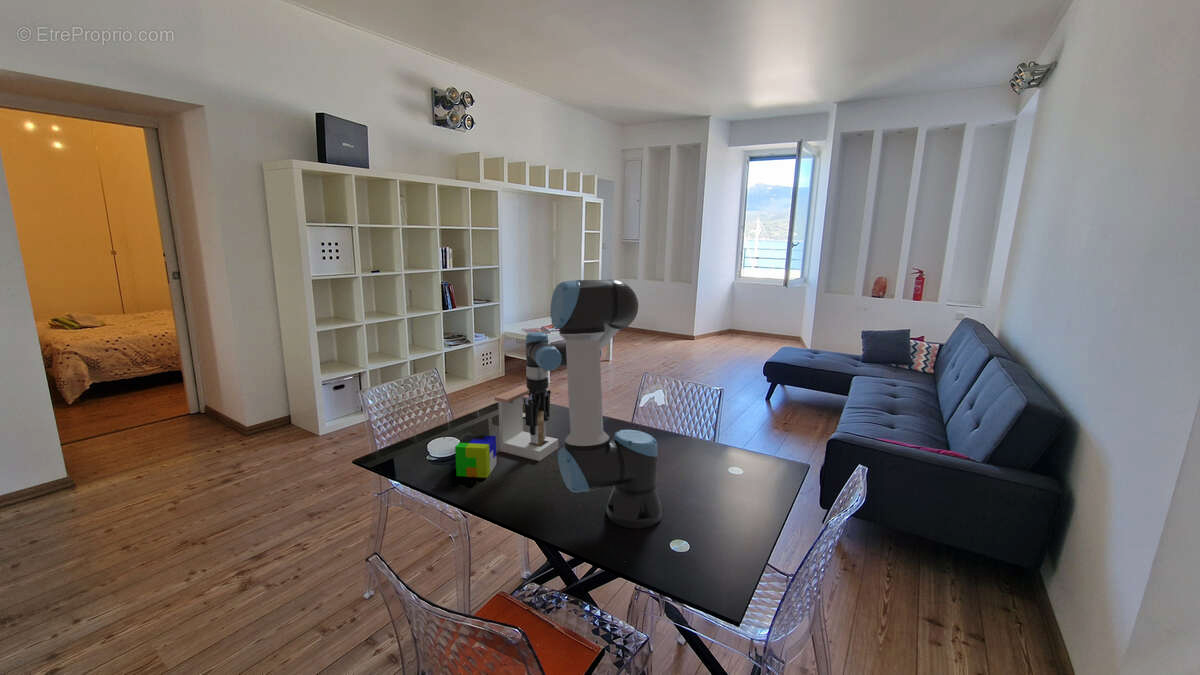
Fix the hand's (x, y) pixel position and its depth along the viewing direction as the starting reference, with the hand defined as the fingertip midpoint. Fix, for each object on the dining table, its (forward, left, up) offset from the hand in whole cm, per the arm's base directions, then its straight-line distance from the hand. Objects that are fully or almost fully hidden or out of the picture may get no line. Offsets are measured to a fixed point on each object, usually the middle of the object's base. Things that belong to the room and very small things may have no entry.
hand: (538, 440), depth 174 cm
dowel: (0, 0, -4) cm, 4 cm away
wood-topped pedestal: (0, +10, -1) cm, 10 cm away
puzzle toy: (-21, +10, -5) cm, 24 cm away
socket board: (0, +4, -4) cm, 6 cm away
